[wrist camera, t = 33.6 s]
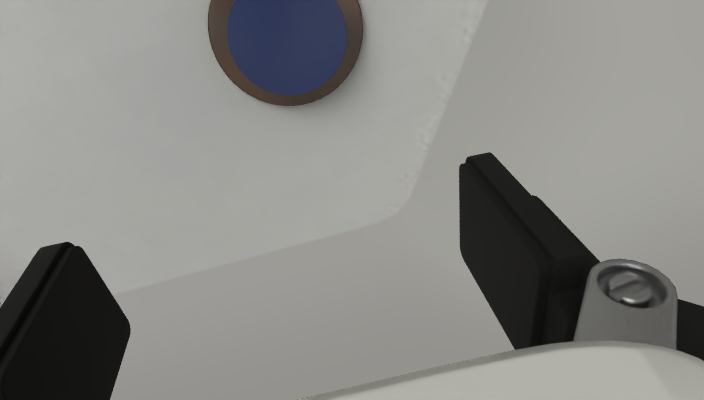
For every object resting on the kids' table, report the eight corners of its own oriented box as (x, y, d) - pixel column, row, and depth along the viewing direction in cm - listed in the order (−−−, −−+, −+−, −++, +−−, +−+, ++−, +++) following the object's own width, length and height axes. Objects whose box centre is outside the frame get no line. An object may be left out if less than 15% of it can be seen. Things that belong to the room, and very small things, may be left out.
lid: (244, 96, 28) (243, 104, 27) (212, -21, 24) (209, -17, 23) (349, 77, 28) (353, 85, 27) (335, -40, 25) (338, -37, 23)
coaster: (369, 88, 29) (371, 91, 29) (234, 115, 29) (234, 118, 29) (350, -69, 24) (351, -68, 24) (185, -39, 24) (184, -38, 24)
